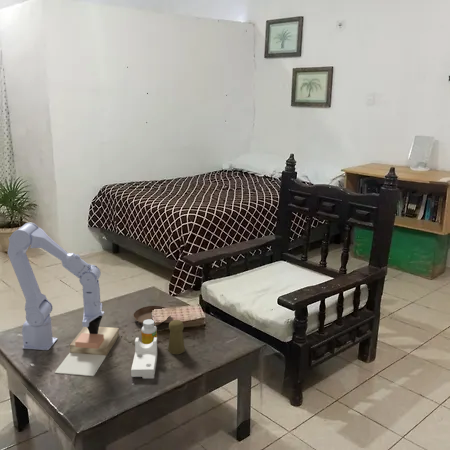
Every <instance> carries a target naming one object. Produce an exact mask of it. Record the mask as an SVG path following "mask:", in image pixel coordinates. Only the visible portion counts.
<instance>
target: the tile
mask: <svg viewBox="0 0 450 450" xmlns="http://www.w3.org/2000/svg"><path fill="white" fill-rule="evenodd" d="M103 340H104V335H103V334H88V333H81V335H80V336H79V337H78V339H77V340H76V341H75V346H76V347H81V348H96V349H98V348H99V347H100V345H101V344H102V342H103Z"/></svg>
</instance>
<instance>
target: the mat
mask: <svg viewBox="0 0 450 450" xmlns="http://www.w3.org/2000/svg"><path fill="white" fill-rule="evenodd" d="M106 358H107V355H94V354H81V353H70V352H69V353H68V354H67V355H66V357H65V358H64V359H63V361H62V362H61V363H60V364H59V366H58V367H57V369H55V371H54V374H57V375H58V374H61V375H70V376H71V375H72V376H86V377H95V375H96V373H97V372H98V371H99V368H100V367H101V365H102V363H103V362H104V361H105V359H106Z"/></svg>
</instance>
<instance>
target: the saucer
mask: <svg viewBox="0 0 450 450" xmlns="http://www.w3.org/2000/svg"><path fill="white" fill-rule="evenodd" d="M162 308H166V307H165V306H161V305H148V306H146V305H145V306H143V307H140V308H137V309H136V310H135V311H134V312H133V314H132V315H133V316H132V317H133V319H134V320H135V321H136V322H137V323H139V325H142V326H143V321H144V320H147V319H151V312H152V310H154V309H162Z"/></svg>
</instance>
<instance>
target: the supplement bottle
mask: <svg viewBox="0 0 450 450" xmlns="http://www.w3.org/2000/svg"><path fill="white" fill-rule="evenodd" d="M154 325H155V323H154V320H152V319H147V320H144V321H143V325H142V327H141V329H140V330H141V332H140V333H141V343H143V344H150V343H152V342H153V340H154V337H157V338H158V335H157V334H158V333H157V332H158V331H157V330H158V329H157V328H158V327H157V326H154Z"/></svg>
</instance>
